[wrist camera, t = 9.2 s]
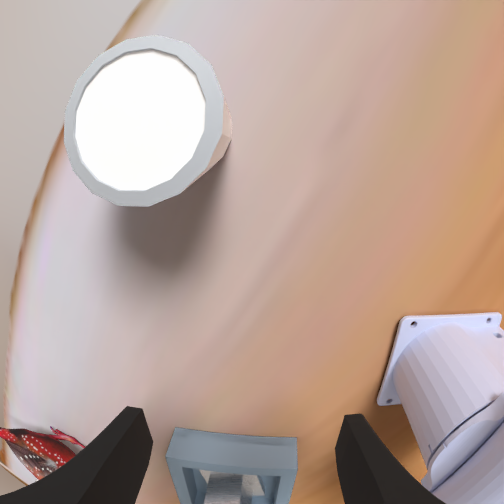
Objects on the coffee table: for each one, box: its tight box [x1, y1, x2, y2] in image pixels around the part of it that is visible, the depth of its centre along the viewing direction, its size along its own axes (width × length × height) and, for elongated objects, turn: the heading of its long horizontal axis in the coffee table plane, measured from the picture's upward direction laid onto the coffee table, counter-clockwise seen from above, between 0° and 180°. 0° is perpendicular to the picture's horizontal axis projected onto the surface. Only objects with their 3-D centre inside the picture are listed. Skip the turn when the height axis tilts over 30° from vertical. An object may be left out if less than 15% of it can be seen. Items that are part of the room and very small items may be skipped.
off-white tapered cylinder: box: [64, 35, 232, 207], centre depth 14 cm, size 7×7×7 cm
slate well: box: [165, 427, 298, 504], centre depth 24 cm, size 10×11×4 cm
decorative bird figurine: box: [0, 426, 85, 480], centre depth 22 cm, size 3×18×10 cm, turn 69°
